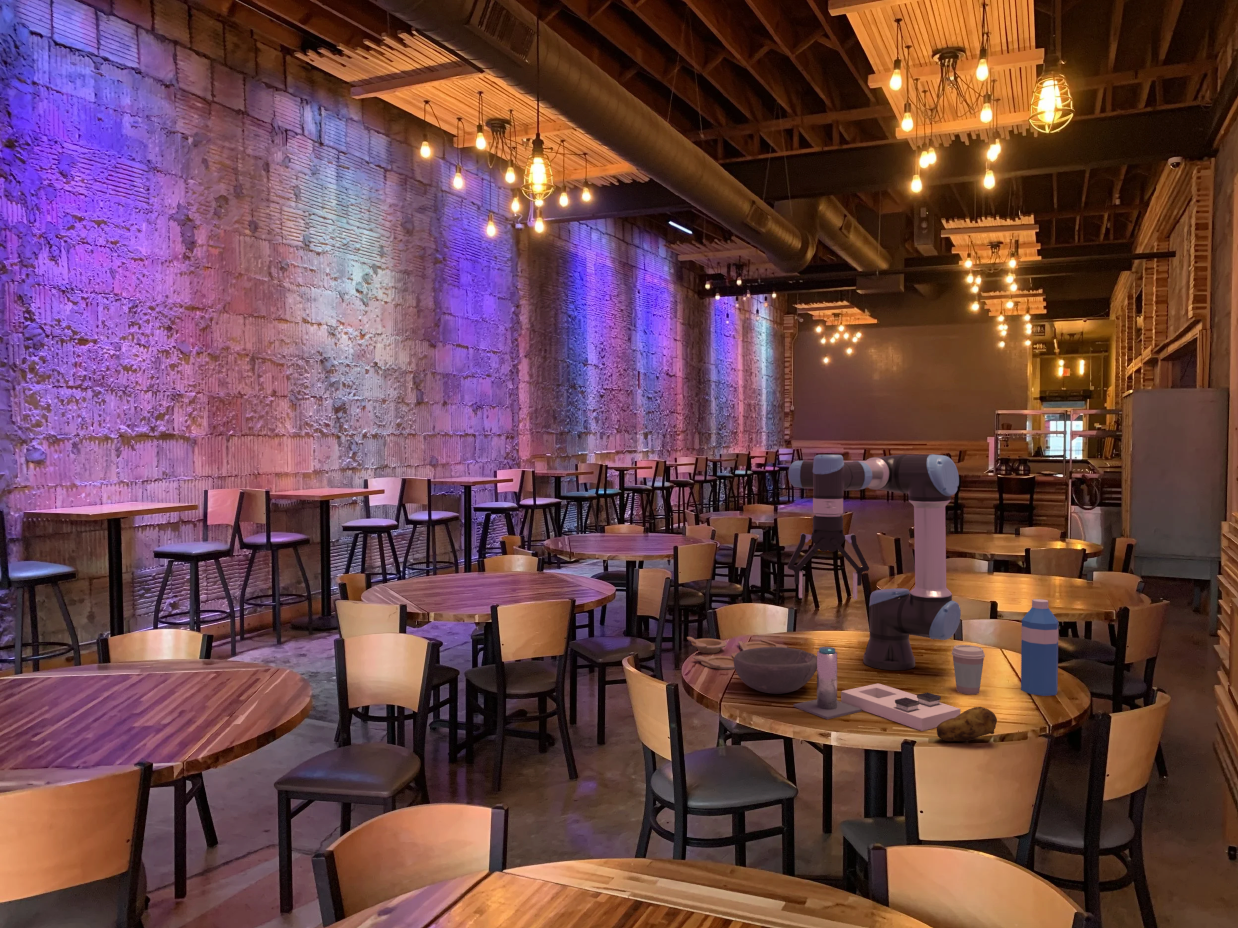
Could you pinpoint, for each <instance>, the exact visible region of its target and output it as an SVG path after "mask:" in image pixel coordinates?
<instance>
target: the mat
mask: <svg viewBox="0 0 1238 928" xmlns="http://www.w3.org/2000/svg"><path fill="white" fill-rule="evenodd" d="M793 707H794V708H796V709H799V710H802V711H804V712H807V713H810V714H812V715H814V716H817V717H820V718H823V719H824V720H830V719H835V718H839V717H843V716H847V715H852V714H857V713H861V712H862V710H861V709H860V708H857V707H854V706H851V705H849V704H846V703H843V702H841V700H837V708H836V709H832V710H826V709H821V708H818V707H817V698H816V699H813V700H808V701H807V700H806V701H803V702H797V703H793Z"/></svg>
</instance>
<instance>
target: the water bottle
mask: <svg viewBox="0 0 1238 928" xmlns="http://www.w3.org/2000/svg"><path fill="white" fill-rule="evenodd" d="M1020 645H1021V648H1020V650H1021V653H1020V655H1021V656H1020V659H1021V660H1020V667H1021V668H1020V669H1021V670H1020V691H1023V692H1024V693H1027V694H1029V695H1036V696H1040V697H1041V696H1042V697H1046V696H1047V697H1050V696H1056V695H1057V694H1058V687H1059V685H1058V683H1059V682H1058V680H1059V679H1058V678H1059V677H1058V676H1059V620H1058V619H1057V617H1056V616H1055V615H1054V613H1053V612H1052V610H1051V609H1050V608H1049V600H1046V599H1043V598H1042V599H1039V598H1036V599H1035V598H1033V599H1031V608H1030V609H1029V610H1028V612H1026V613H1025V615H1024V616H1023V617H1022V619H1021V644H1020Z"/></svg>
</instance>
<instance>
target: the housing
mask: <svg viewBox="0 0 1238 928" xmlns="http://www.w3.org/2000/svg"><path fill="white" fill-rule="evenodd" d="M917 695H918V694H914V693H911V692H909V691H908V692H907V691H904V690H901V689H898V688H895V687H892V686H889V685H886V684H885V685H884V684H881V683H873V684H869V685H865V686H859V687H856V688H855V687H854V688H850V689H845V690H842V691H840V702H843V703H846V704H849V705H851V706H854V707H857V708H860V709H861V711H863V712H866V713H870V714H873V715H875V716H878V717H881V718H883V719H884V718H885V719H886V720H890V721H893V722H895V723H898V724H901V725H903V726H905V727H906V726H907V727H910V728H912V729H915V730H918V731H921V732H923V731H927V730H931V729H935V728H937V726H938V725H939V724H940V723H942V722H944V721H946V720H948V719H951V718H955V717H957V716H958V715H959V714H961V708H959V707H955V706H952V705H949V704H946V703H943V702H940V701H939V705H938V706H933V707H928V706H925V705H921V704H919V705H918V710H917V711H913V712H909V713H908V712H905V711H902V710H899V709H896V703H895V700H897V699H901V698H909V699H913V700H916V701H918V698H917Z"/></svg>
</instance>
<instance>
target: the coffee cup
mask: <svg viewBox="0 0 1238 928" xmlns="http://www.w3.org/2000/svg"><path fill="white" fill-rule="evenodd" d="M951 655H952V660H953V671H954V677H955V678H954V679H955V688H956V691H957V692H958V693H960V694H965V695H978V694H980V690H981V683H982V674H983V667H984V660H985V657H986V653H985V652H984V649H983V648H982V647H980V646H976V645H971V644H957V645H954V646H953V649H952V650H951Z"/></svg>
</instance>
